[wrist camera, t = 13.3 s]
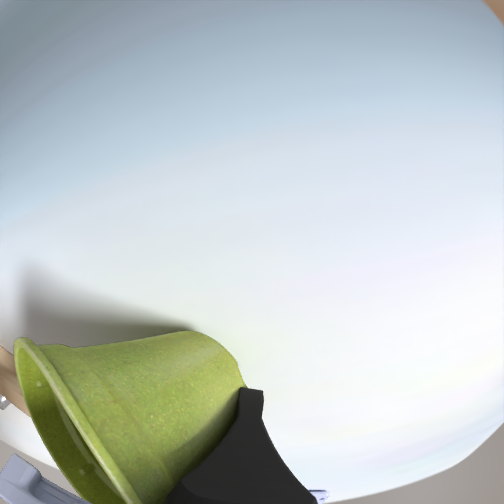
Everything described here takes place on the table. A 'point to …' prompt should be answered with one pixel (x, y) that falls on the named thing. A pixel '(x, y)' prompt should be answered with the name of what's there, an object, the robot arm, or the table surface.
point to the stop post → (3, 402)
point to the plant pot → (129, 410)
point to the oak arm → (10, 381)
